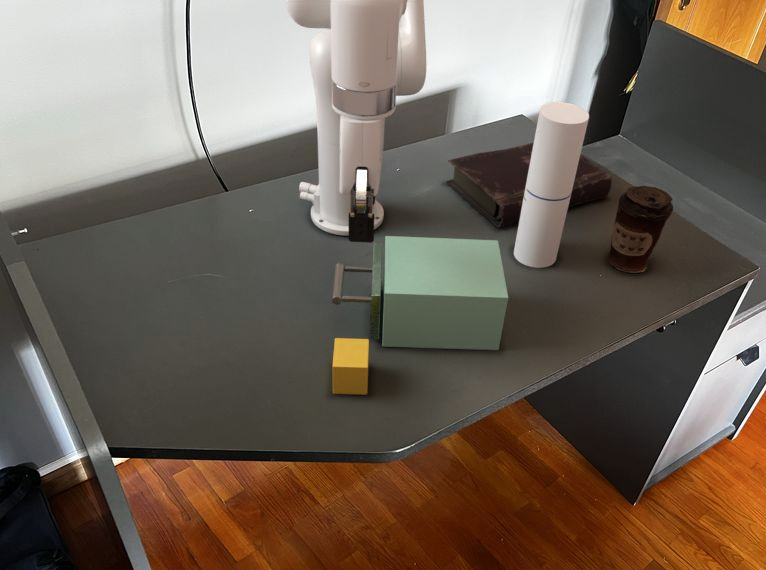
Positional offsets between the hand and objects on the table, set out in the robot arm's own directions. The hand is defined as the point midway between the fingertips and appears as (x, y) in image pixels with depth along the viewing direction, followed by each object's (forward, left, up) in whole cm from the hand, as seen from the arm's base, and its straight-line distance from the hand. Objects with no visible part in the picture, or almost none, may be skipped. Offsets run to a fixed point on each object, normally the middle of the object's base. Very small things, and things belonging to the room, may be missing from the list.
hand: (362, 221), depth 98 cm
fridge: (+11, +4, -16) cm, 20 cm away
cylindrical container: (+21, +26, -16) cm, 37 cm away
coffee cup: (+36, +30, -16) cm, 50 cm away
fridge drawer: (+6, +2, -15) cm, 17 cm away
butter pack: (+4, -13, -16) cm, 21 cm away
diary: (+15, +46, -16) cm, 51 cm away
